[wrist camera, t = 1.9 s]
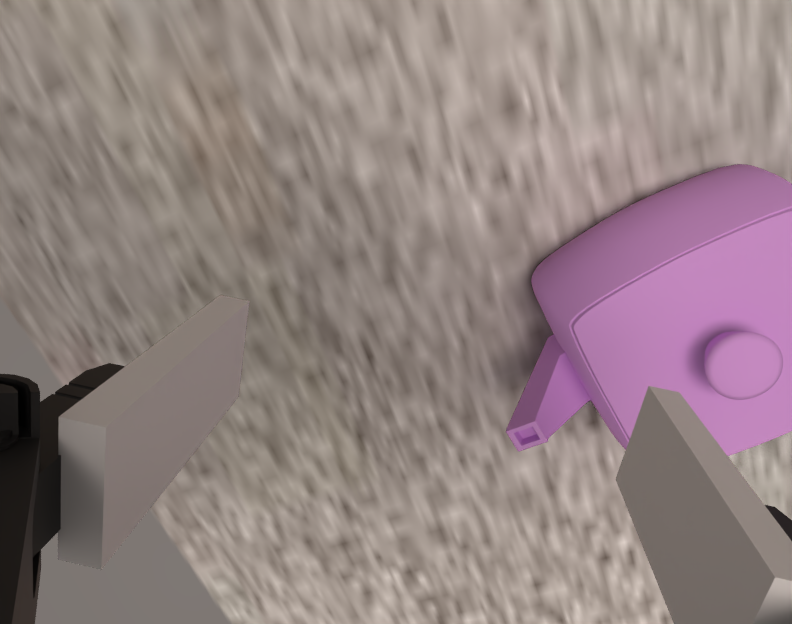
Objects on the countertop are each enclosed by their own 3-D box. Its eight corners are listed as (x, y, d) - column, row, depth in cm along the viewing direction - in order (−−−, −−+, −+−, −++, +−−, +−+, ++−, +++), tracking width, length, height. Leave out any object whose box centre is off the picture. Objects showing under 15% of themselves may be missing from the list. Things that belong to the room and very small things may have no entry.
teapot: (543, 444, 36) (572, 569, 26) (454, 290, 33) (449, 364, 24) (869, 299, 31) (1052, 384, 21) (791, 110, 29) (955, 109, 19)
